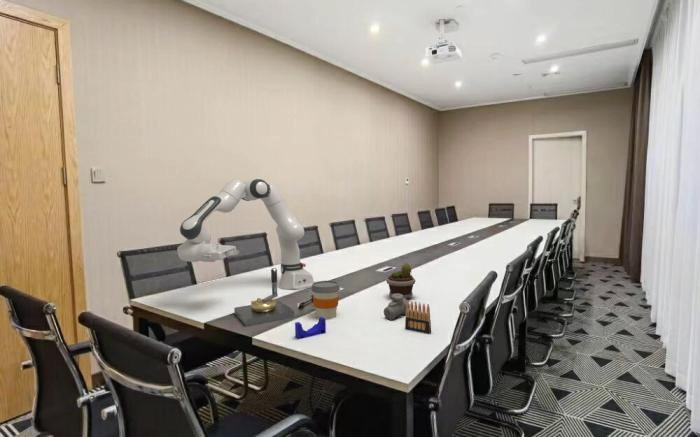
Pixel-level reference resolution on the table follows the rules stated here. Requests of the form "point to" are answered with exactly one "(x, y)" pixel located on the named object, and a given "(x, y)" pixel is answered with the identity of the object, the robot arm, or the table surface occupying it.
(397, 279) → the flowerpot
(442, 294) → the table surface
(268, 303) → the brass base with rod
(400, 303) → the pipe fitting
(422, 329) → the ammunition clip
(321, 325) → the blue cradle stand
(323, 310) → the reusable coffee cup
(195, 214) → the robot arm
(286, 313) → the cap plate
